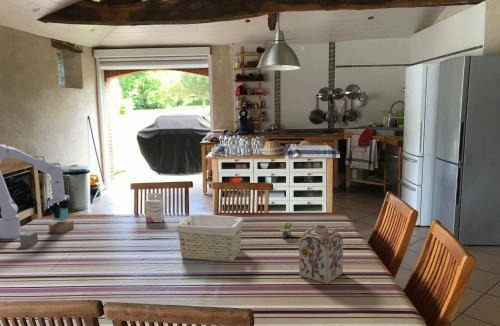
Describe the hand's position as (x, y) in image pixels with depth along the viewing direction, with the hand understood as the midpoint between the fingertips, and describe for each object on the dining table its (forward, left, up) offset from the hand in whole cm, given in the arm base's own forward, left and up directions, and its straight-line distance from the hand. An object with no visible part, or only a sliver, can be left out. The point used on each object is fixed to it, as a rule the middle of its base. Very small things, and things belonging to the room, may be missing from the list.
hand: (60, 216), depth 206 cm
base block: (0, 0, -7) cm, 7 cm away
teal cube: (0, 0, -1) cm, 1 cm away
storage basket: (+84, -24, -7) cm, 88 cm away
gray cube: (-2, -21, -7) cm, 22 cm away
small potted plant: (+113, +1, -8) cm, 113 cm away
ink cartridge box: (+42, +18, -7) cm, 46 cm away
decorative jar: (+128, -39, -7) cm, 134 cm away
